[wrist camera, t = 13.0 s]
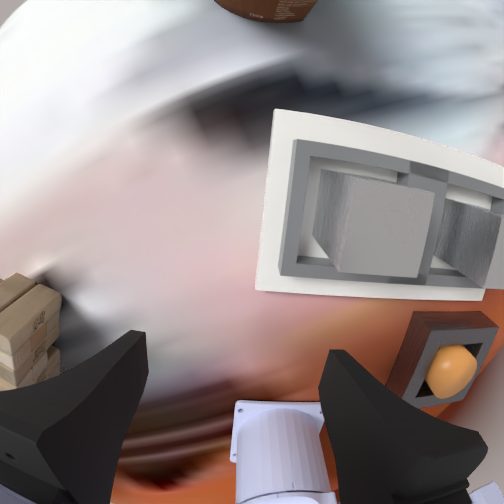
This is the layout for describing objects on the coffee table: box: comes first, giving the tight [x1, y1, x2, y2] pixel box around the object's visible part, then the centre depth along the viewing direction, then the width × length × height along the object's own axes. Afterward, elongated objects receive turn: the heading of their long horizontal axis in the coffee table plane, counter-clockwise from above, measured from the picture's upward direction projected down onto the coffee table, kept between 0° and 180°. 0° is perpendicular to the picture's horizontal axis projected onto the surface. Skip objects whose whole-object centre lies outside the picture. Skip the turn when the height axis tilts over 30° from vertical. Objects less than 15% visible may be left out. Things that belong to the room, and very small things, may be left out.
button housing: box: [385, 311, 499, 408], centre depth 22 cm, size 8×8×3 cm
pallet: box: [255, 109, 504, 301], centre depth 18 cm, size 11×19×2 cm, turn 84°
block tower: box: [0, 273, 62, 391], centre depth 21 cm, size 8×8×29 cm
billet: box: [312, 169, 435, 278], centre depth 15 cm, size 4×4×6 cm
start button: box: [424, 345, 477, 399], centre depth 21 cm, size 4×4×3 cm
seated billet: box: [433, 198, 504, 289], centre depth 16 cm, size 4×4×6 cm
